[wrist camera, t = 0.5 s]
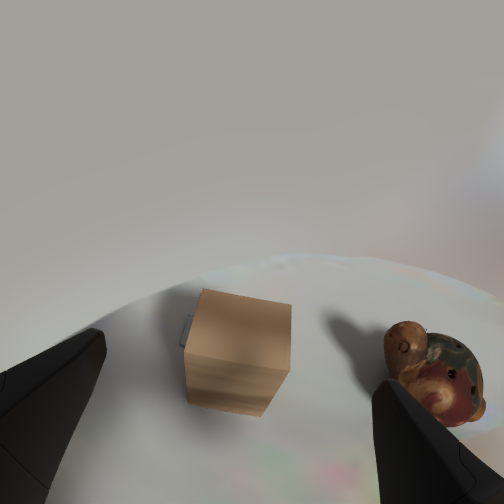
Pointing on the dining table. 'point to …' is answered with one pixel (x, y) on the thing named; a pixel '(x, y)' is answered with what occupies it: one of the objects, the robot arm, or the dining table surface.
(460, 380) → the decorative turtle
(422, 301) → the dining table surface
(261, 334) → the walnut block
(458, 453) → the robot arm
